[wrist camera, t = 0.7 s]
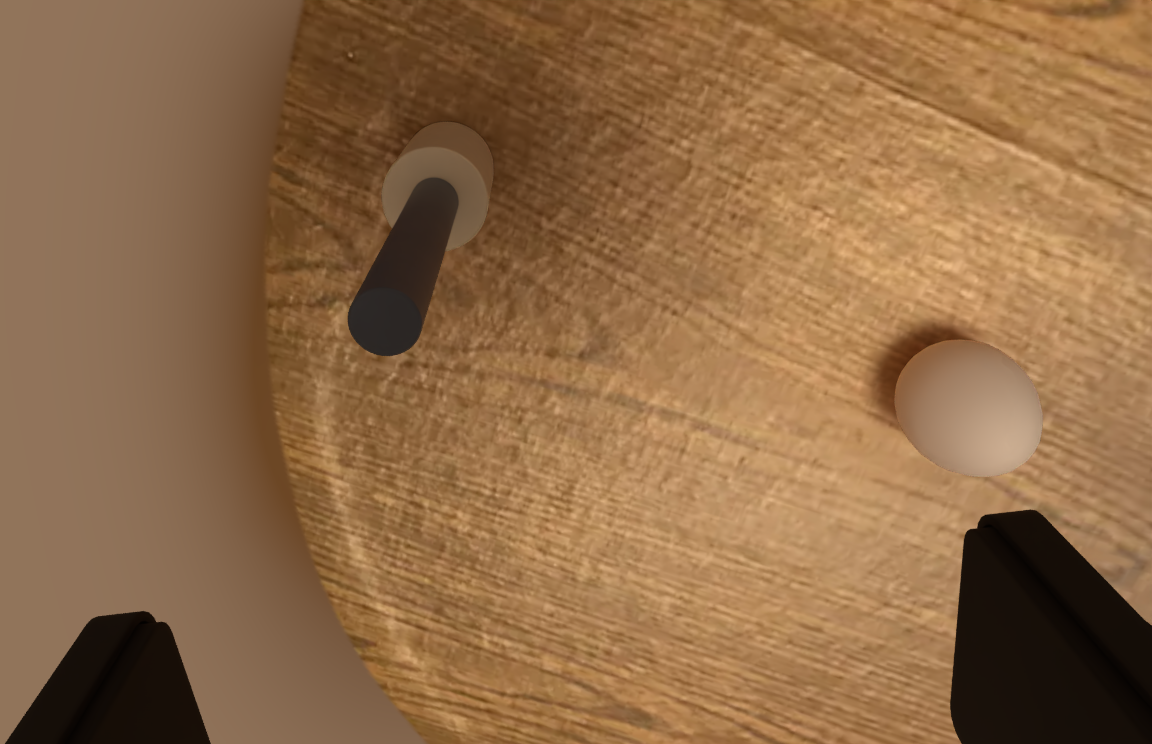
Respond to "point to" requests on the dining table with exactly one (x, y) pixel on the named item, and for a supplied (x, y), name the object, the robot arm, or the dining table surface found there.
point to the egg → (969, 408)
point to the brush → (421, 232)
